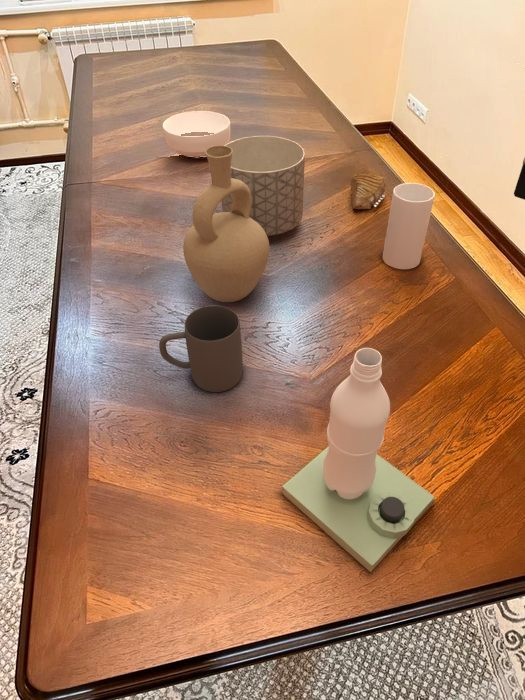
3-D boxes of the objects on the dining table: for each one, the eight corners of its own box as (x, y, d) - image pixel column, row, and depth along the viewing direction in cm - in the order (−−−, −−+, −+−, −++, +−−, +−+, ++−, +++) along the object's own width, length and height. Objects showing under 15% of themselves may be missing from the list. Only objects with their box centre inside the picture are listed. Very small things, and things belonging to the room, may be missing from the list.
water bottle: (328, 455, 80) (344, 329, 62) (376, 469, 78) (406, 342, 60) (315, 496, 75) (328, 371, 57) (366, 511, 73) (395, 387, 56)
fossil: (381, 190, 142) (347, 186, 142) (387, 171, 138) (353, 167, 137) (386, 219, 135) (351, 215, 134) (393, 200, 130) (356, 196, 130)
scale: (435, 506, 75) (440, 492, 73) (373, 575, 69) (377, 562, 66) (344, 438, 84) (346, 424, 82) (281, 493, 77) (282, 480, 75)
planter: (272, 199, 140) (272, 129, 127) (317, 230, 128) (322, 156, 116) (209, 221, 132) (202, 149, 120) (251, 256, 121) (249, 180, 108)
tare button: (407, 512, 71) (409, 506, 70) (393, 527, 70) (395, 521, 69) (388, 498, 73) (390, 492, 72) (375, 512, 71) (376, 506, 70)
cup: (388, 245, 123) (399, 179, 112) (424, 253, 121) (439, 187, 110) (377, 263, 118) (388, 197, 107) (414, 273, 115) (429, 205, 104)
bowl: (192, 172, 152) (189, 142, 146) (153, 151, 162) (149, 122, 157) (245, 151, 161) (244, 123, 155) (204, 133, 172) (202, 105, 166)
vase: (235, 328, 103) (225, 182, 83) (172, 297, 111) (149, 155, 90) (285, 286, 113) (288, 145, 92) (224, 259, 120) (214, 124, 99)
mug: (240, 353, 98) (237, 302, 90) (246, 390, 92) (243, 338, 83) (165, 361, 97) (155, 310, 89) (166, 399, 91) (154, 347, 82)
